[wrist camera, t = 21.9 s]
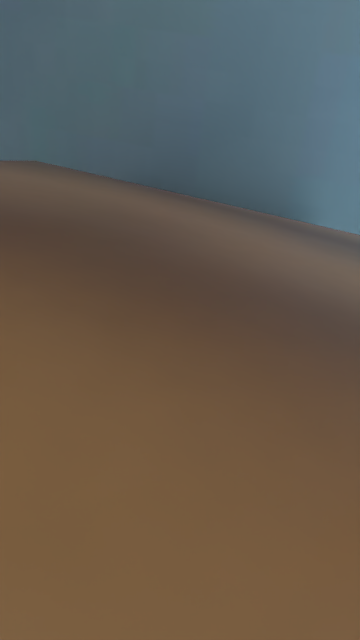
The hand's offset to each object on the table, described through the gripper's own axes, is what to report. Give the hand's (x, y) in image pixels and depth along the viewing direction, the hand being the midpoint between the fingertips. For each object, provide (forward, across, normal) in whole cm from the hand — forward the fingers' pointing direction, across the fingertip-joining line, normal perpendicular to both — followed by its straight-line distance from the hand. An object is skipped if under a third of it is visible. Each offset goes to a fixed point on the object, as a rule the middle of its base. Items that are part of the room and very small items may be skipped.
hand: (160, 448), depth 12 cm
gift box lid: (-7, 0, -7) cm, 9 cm away
